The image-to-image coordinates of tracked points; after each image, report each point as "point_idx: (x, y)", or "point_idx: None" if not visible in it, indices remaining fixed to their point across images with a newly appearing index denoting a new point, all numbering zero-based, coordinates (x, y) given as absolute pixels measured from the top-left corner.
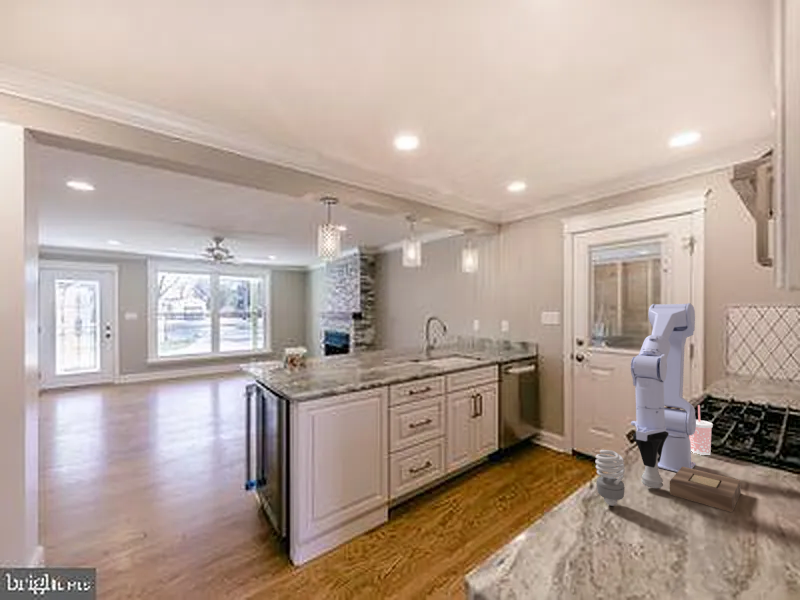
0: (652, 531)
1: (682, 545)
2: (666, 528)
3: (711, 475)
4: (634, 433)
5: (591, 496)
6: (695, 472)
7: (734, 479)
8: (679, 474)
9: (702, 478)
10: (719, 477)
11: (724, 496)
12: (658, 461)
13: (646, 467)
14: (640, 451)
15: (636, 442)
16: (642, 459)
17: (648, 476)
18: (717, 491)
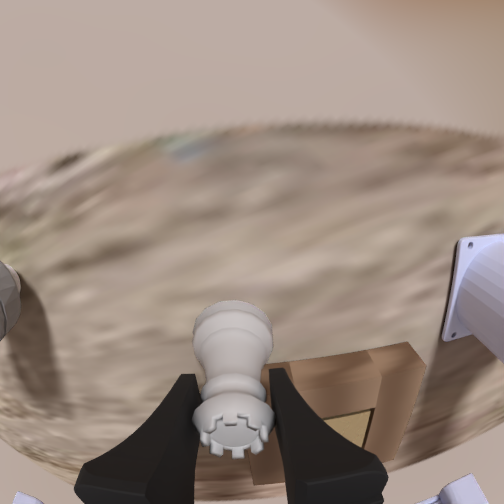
0: (17, 375)
1: (31, 414)
2: (48, 393)
3: (390, 429)
4: (117, 493)
5: (13, 207)
6: (391, 405)
7: (391, 455)
8: (339, 393)
9: (349, 430)
10: (386, 440)
11: (253, 477)
12: (271, 406)
13: (209, 364)
14: (147, 420)
15: (105, 455)
16: (170, 390)
17: (200, 352)
18: (271, 468)
